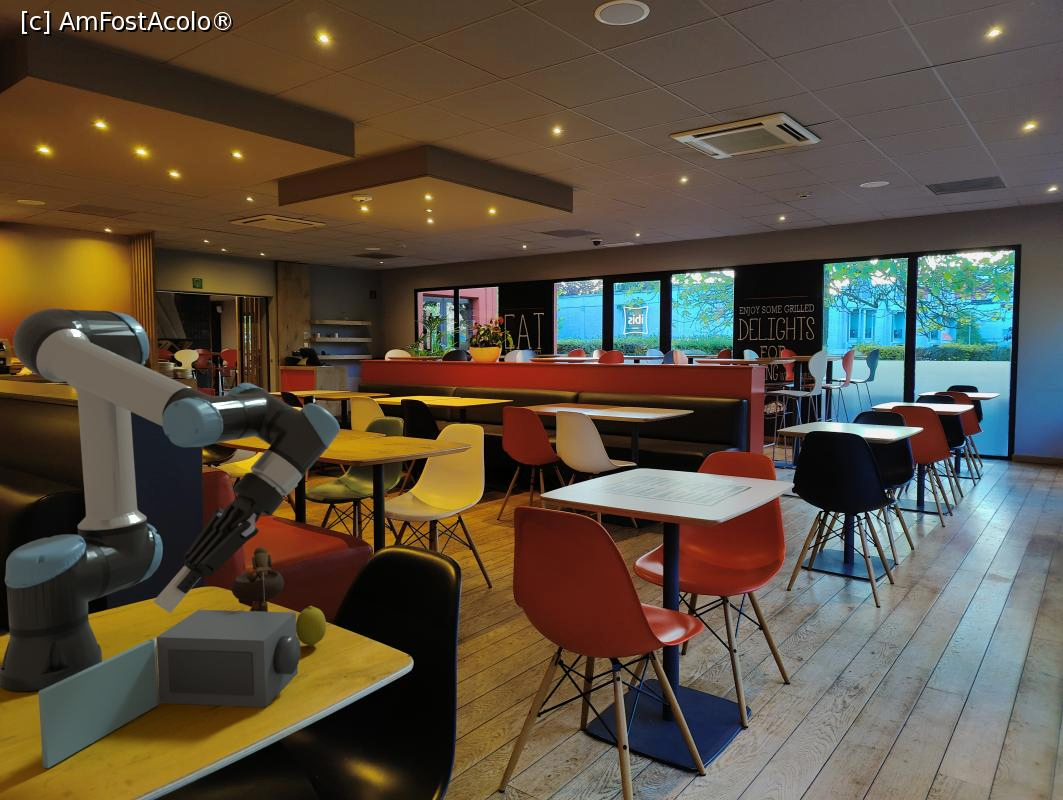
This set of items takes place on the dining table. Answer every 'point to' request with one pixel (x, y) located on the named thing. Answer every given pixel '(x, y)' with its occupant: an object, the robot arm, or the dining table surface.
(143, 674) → the side door
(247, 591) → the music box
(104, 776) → the dining table surface
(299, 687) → the dining table surface
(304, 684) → the dining table surface
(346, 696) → the dining table surface
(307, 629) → the lemon
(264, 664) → the case
